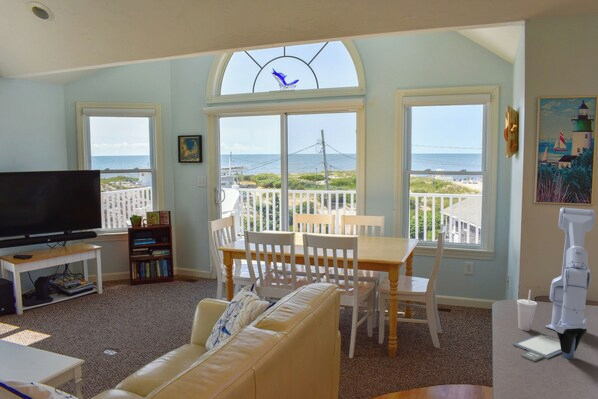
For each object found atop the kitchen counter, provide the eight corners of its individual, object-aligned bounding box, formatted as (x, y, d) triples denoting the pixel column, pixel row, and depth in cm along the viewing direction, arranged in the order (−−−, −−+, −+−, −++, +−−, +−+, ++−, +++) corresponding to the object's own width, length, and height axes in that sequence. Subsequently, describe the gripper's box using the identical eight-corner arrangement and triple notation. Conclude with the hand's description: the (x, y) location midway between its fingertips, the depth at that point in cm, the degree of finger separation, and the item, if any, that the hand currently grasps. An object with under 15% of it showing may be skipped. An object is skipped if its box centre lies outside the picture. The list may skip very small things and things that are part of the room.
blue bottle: (565, 354, 140) (567, 332, 139) (575, 358, 138) (578, 335, 137) (560, 356, 138) (562, 334, 138) (570, 360, 136) (573, 337, 135)
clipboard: (539, 335, 154) (540, 332, 154) (574, 347, 145) (574, 345, 145) (512, 345, 145) (513, 342, 145) (547, 358, 136) (547, 356, 136)
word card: (530, 352, 140) (530, 350, 140) (543, 357, 137) (543, 356, 137) (521, 356, 137) (521, 354, 137) (534, 361, 134) (534, 359, 134)
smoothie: (537, 333, 156) (541, 293, 154) (517, 331, 157) (520, 291, 156) (531, 326, 162) (535, 288, 161) (512, 324, 163) (515, 286, 162)
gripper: (575, 316, 129) (570, 361, 130) (599, 307, 137) (594, 351, 139) (550, 308, 135) (545, 352, 136) (574, 300, 143) (570, 342, 144)
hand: (568, 351), depth 138 cm, fingers open, 3 cm apart
